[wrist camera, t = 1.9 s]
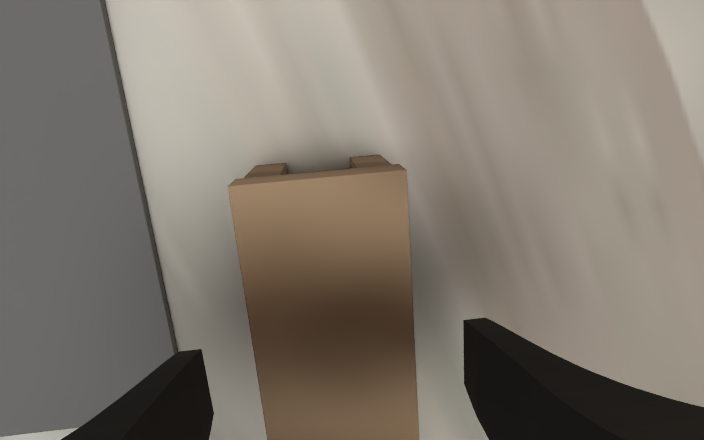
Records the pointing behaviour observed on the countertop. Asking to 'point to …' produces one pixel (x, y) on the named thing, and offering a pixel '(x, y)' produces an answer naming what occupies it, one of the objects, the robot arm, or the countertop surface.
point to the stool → (330, 299)
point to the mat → (71, 224)
